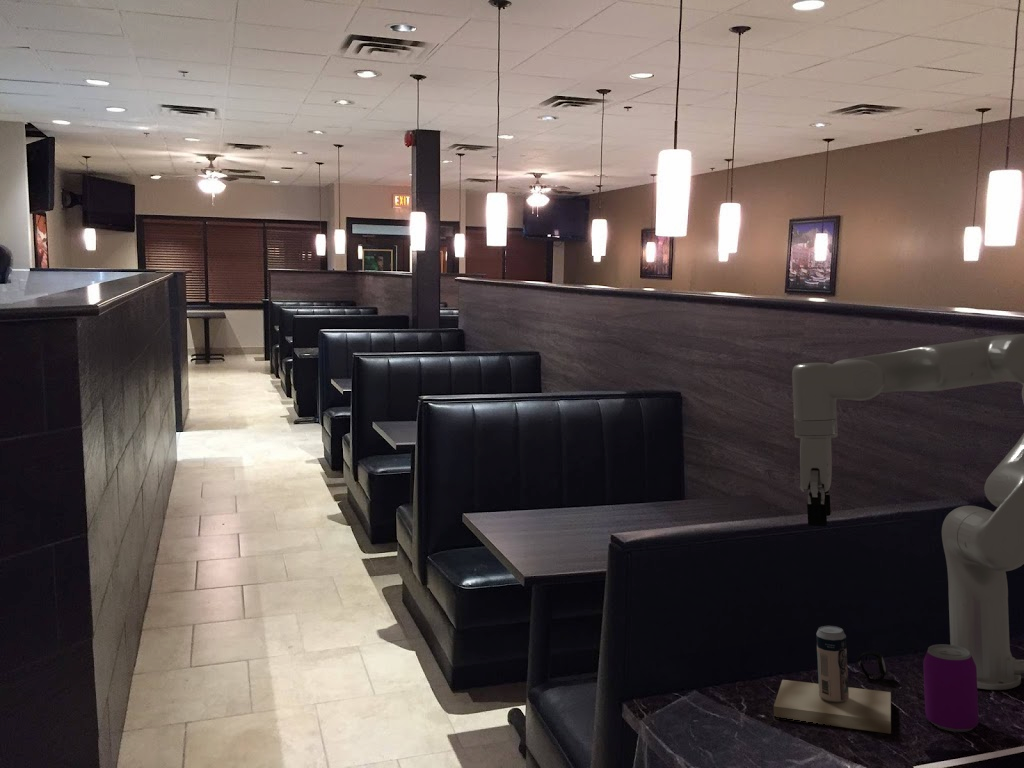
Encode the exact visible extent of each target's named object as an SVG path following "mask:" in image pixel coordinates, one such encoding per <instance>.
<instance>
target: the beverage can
mask: <svg viewBox="0 0 1024 768" xmlns="http://www.w3.org/2000/svg"><path fill="white" fill-rule="evenodd" d="M922 664H923V665H922V666H923V667H922V668H923V687H924V688H923V689H924V691H923V692H924V693H923V694H924V710H925V711H924V713H925V717H926V719H927V720H928V721H929V722H930V724H932V725H933V724H934V725H933V726H935V727H936V726H937V727H936V728H938V727H939V729H940V728H941V730H943V729H944V731H947V732H948V731H949V732H954V733H964V732H965V733H966V732H969V731H972V730H973V729H975V728H976V727H977V726H978V725H979V700H978V698H979V697H978V688H977V669H976V665H975V662H974V660H973V658H972V656H971V653H970V651H969V650H967V649H965V648H962V647H959V646H954V645H951V644H943V643H942V644H941V643H940V644H932V645H930V646H928V648H927V651H926V653H925V656H924V658H923V661H922Z"/></svg>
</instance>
